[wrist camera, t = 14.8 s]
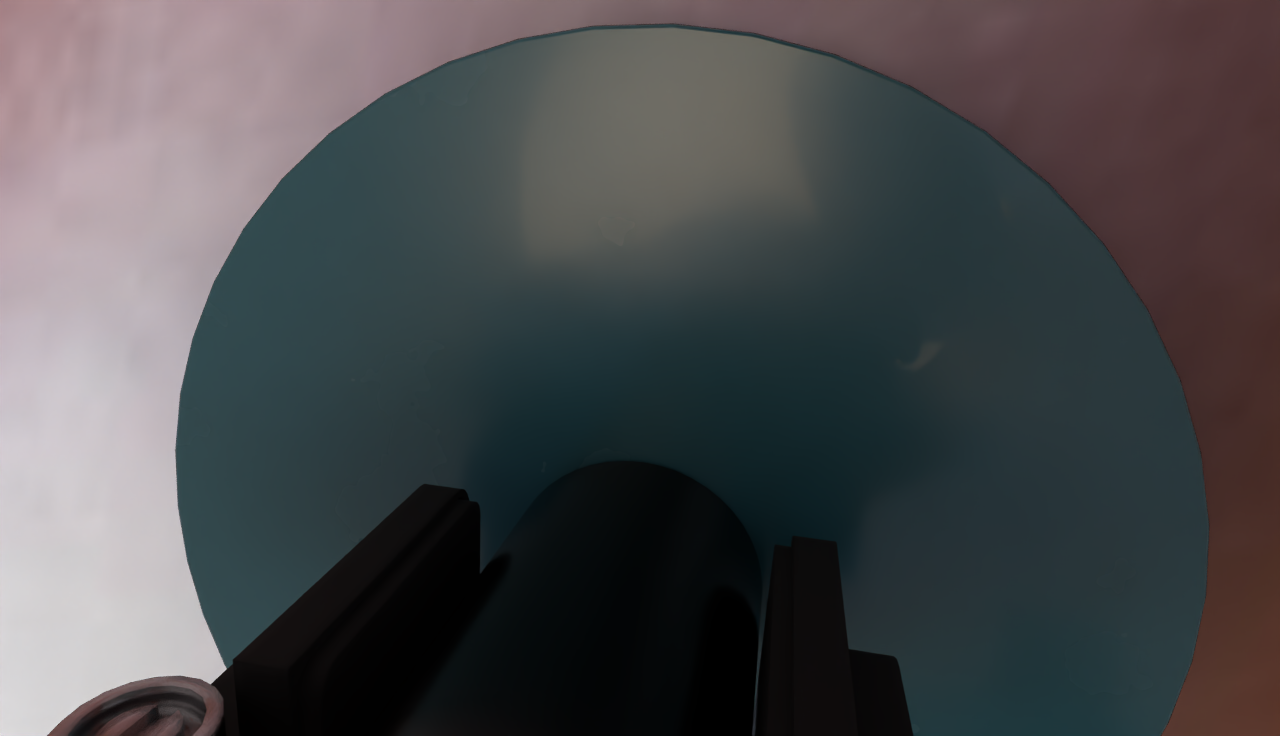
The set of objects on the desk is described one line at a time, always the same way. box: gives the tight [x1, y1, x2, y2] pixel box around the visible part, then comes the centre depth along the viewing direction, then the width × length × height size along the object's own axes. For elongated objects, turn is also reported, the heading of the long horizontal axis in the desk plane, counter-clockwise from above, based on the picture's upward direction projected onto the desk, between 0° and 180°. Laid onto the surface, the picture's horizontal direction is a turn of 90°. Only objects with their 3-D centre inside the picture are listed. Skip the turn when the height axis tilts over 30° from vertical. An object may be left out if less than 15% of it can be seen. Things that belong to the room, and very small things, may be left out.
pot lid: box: [175, 23, 1209, 736], centre depth 9 cm, size 15×15×8 cm
